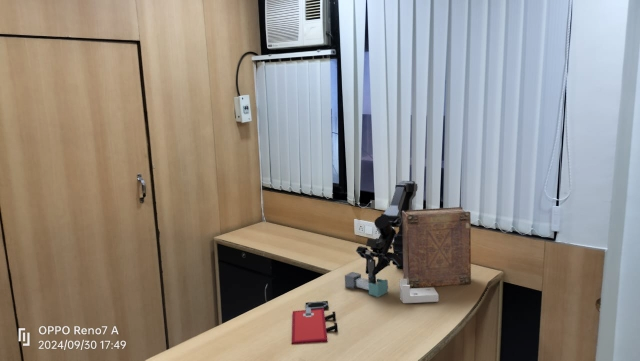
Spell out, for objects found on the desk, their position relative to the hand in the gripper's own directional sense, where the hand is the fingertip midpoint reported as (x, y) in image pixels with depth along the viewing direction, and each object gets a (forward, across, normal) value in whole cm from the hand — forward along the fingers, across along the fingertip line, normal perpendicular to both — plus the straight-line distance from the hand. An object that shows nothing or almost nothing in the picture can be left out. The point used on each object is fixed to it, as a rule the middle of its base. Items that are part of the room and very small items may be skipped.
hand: (369, 274), depth 185 cm
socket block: (+4, +3, +6) cm, 8 cm away
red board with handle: (+28, -1, -16) cm, 33 cm away
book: (-12, +15, +23) cm, 30 cm away
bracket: (+2, +19, +9) cm, 21 cm away
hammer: (+4, -3, +6) cm, 7 cm away
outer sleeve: (+4, -10, +6) cm, 12 cm away
